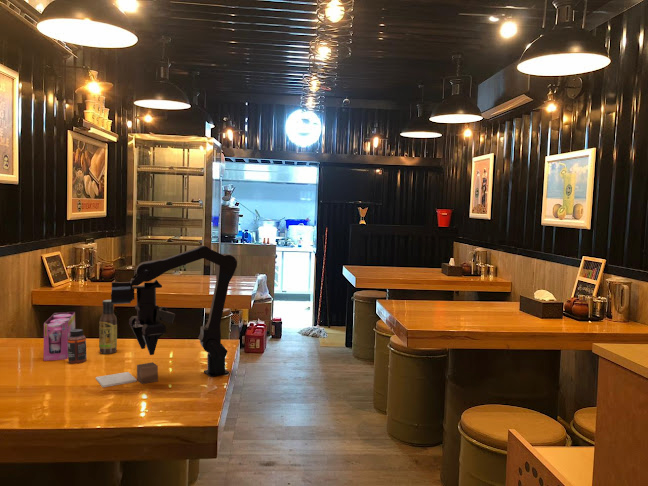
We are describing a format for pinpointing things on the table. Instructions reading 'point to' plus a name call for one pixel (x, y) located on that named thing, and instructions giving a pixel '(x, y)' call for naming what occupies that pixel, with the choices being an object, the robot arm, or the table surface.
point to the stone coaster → (116, 379)
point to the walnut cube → (147, 373)
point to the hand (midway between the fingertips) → (147, 351)
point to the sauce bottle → (108, 329)
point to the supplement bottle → (76, 346)
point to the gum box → (58, 335)
